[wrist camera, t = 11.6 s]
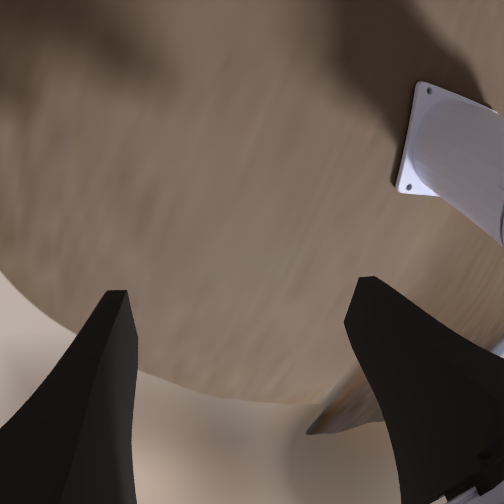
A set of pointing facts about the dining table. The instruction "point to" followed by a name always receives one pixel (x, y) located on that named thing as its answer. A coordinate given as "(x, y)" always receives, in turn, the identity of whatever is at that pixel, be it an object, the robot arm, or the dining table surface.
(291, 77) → the dining table surface
